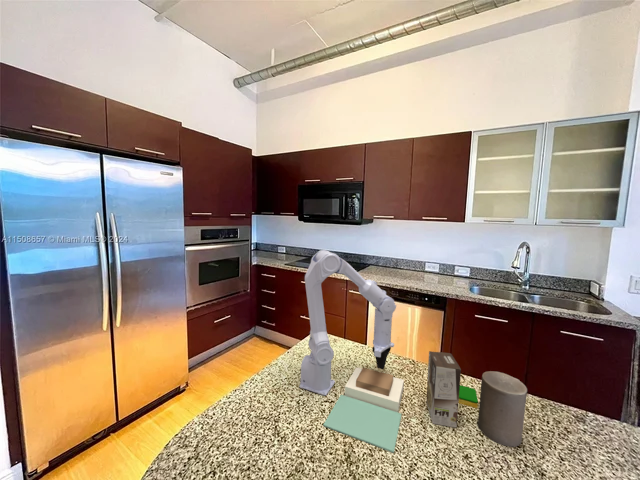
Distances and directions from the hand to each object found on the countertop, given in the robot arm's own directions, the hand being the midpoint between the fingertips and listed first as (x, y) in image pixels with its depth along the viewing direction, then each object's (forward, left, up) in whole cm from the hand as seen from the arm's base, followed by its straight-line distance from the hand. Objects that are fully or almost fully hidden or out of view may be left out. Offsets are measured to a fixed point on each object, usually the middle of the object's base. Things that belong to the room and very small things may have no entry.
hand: (380, 367), depth 91 cm
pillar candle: (+33, -9, -4) cm, 35 cm away
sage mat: (0, -22, -4) cm, 22 cm away
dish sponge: (+22, +2, -4) cm, 22 cm away
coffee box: (+19, -9, -4) cm, 22 cm away
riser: (0, -8, -4) cm, 9 cm away
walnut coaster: (0, -9, -1) cm, 9 cm away
